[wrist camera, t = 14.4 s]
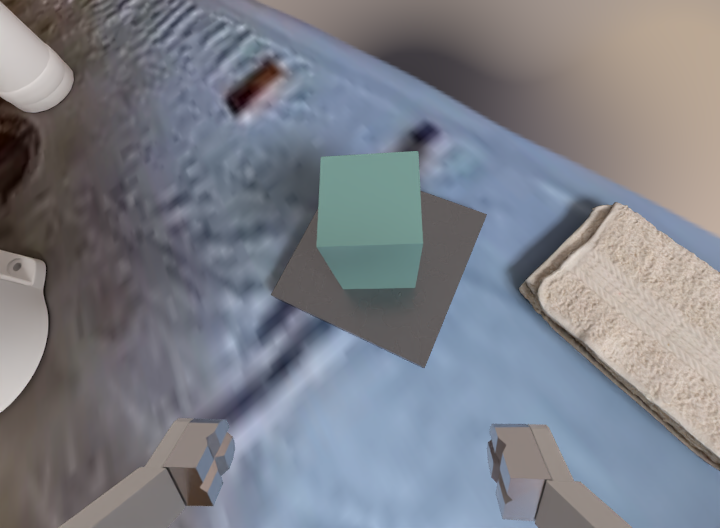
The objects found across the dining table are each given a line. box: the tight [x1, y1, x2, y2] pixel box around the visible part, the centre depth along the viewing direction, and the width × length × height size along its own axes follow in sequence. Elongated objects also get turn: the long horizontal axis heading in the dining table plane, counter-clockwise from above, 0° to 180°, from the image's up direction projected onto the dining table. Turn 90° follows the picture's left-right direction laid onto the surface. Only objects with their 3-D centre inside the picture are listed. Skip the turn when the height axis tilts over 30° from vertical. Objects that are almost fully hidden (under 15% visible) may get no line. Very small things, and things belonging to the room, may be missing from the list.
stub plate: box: [271, 191, 487, 368], centre depth 29 cm, size 14×14×6 cm
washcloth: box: [519, 202, 720, 471], centre depth 26 cm, size 12×18×3 cm, turn 44°
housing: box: [316, 151, 423, 289], centre depth 25 cm, size 6×6×10 cm
